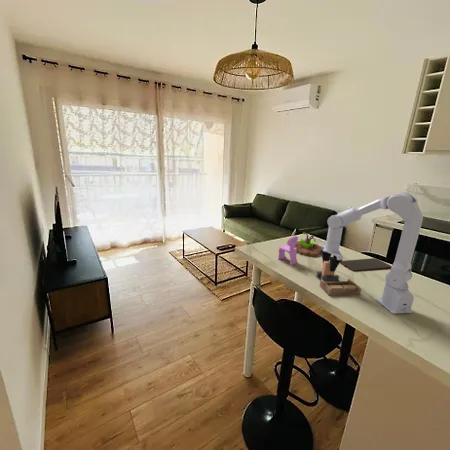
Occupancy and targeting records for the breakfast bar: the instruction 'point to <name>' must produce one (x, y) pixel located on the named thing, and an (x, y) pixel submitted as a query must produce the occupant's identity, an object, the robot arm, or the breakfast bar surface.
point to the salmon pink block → (326, 268)
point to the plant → (308, 247)
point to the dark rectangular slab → (365, 265)
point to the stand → (327, 277)
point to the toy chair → (289, 250)
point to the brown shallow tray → (340, 292)
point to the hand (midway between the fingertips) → (328, 268)
